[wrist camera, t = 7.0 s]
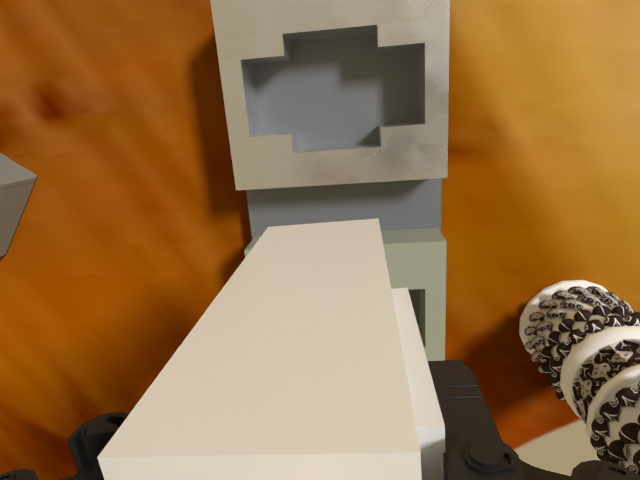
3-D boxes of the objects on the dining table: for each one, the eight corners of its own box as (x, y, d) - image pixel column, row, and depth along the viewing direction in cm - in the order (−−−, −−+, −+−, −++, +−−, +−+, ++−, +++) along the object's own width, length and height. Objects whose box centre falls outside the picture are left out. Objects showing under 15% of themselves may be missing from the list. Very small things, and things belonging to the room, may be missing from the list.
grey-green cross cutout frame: (254, 236, 36) (244, 250, 32) (437, 227, 34) (446, 241, 31) (270, 364, 39) (262, 388, 36) (436, 362, 38) (444, 386, 34)
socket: (226, 10, 31) (210, -1, 27) (439, -12, 29) (450, -27, 26) (247, 182, 34) (235, 190, 31) (438, 170, 33) (447, 177, 29)
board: (228, 10, 32) (222, 6, 30) (439, -11, 30) (443, -17, 29) (271, 358, 41) (268, 367, 39) (436, 355, 39) (439, 365, 38)
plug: (268, 226, 17) (-137, 773, 3) (378, 218, 17) (486, 824, 3) (286, 354, 19) (78, 1076, 5) (387, 350, 19) (479, 1140, 4)
